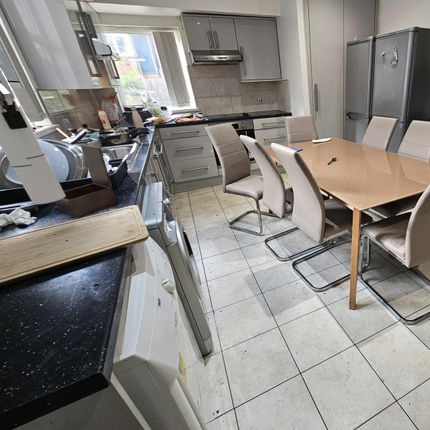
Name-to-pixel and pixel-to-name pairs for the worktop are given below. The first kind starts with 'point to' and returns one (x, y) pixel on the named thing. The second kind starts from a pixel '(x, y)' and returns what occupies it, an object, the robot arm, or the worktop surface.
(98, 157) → the lid
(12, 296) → the worktop surface
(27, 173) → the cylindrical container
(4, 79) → the robot arm
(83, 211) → the chest
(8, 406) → the worktop surface
